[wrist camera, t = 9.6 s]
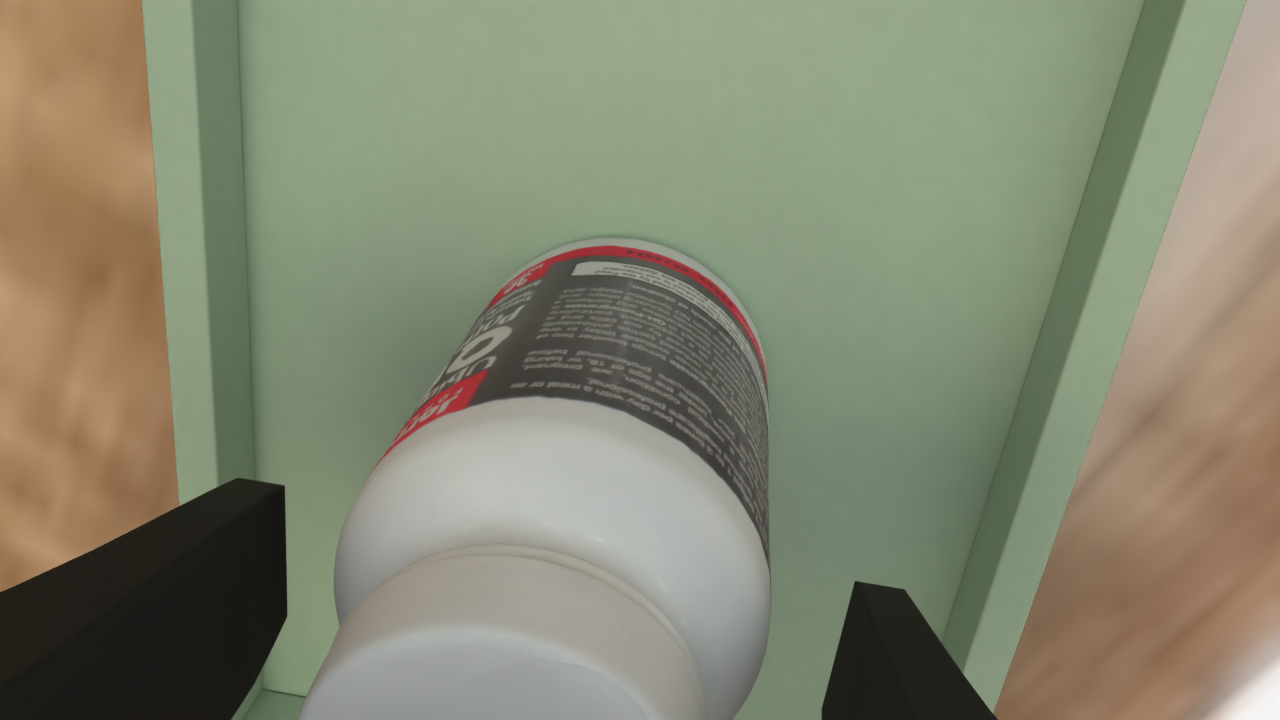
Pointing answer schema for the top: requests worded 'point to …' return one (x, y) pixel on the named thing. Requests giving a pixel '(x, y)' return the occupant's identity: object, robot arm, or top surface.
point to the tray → (699, 228)
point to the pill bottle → (568, 510)
